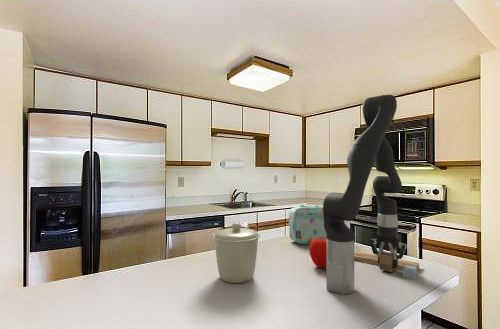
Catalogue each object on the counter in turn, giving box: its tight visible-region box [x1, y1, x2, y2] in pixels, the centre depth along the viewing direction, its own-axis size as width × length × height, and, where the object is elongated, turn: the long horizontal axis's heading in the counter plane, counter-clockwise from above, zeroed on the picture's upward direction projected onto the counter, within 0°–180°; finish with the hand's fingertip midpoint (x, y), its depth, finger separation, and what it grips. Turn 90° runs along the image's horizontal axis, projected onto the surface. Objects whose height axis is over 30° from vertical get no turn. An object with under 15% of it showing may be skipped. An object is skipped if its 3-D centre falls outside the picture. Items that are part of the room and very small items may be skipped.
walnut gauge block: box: [379, 250, 395, 273], centre depth 112 cm, size 6×4×6 cm
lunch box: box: [288, 204, 326, 245], centre depth 156 cm, size 27×10×21 cm, turn 104°
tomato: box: [309, 237, 327, 269], centre depth 116 cm, size 11×11×13 cm
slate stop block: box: [402, 265, 418, 280], centre depth 106 cm, size 6×4×3 cm, turn 139°
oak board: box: [354, 250, 420, 272], centre depth 120 cm, size 8×26×2 cm, turn 49°
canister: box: [212, 222, 261, 284], centre depth 105 cm, size 18×18×21 cm
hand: (387, 266), depth 112 cm, fingers closed on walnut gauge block, 4 cm apart
